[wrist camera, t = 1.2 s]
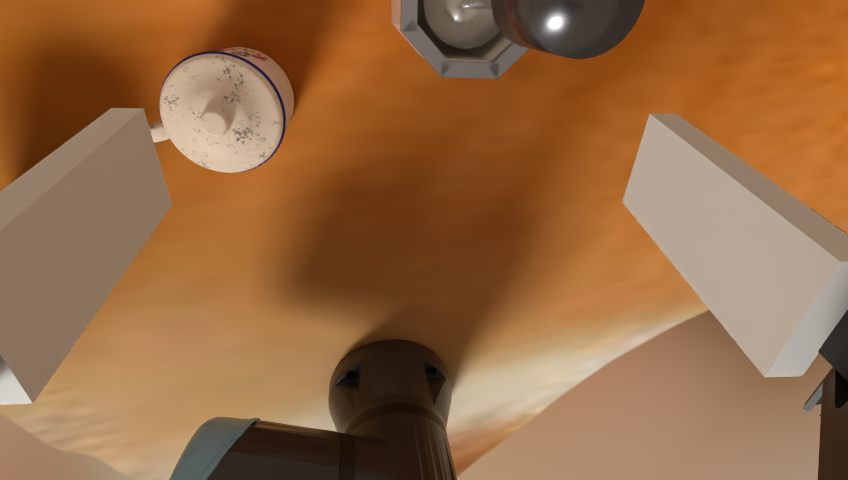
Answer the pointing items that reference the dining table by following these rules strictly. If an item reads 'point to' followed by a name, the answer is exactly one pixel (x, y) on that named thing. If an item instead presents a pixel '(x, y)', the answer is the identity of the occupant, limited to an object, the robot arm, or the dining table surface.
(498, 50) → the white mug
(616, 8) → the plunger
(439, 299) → the dining table surface
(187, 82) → the teacup with lid
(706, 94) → the dining table surface
